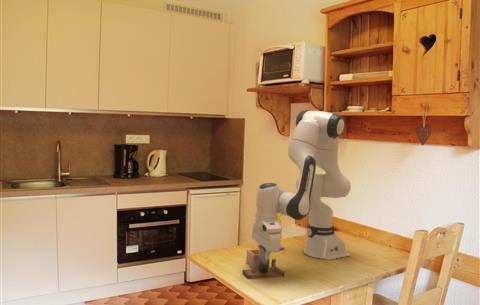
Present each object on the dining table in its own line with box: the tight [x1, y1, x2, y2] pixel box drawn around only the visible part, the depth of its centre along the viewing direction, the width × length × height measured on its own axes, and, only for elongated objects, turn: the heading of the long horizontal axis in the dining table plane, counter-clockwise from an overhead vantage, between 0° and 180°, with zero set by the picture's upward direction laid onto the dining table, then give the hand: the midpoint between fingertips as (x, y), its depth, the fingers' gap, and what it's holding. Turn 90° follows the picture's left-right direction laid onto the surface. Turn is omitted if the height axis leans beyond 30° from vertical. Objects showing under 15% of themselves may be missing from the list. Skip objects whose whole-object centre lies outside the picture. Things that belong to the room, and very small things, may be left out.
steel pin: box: [259, 246, 270, 273], centre depth 164 cm, size 4×4×10 cm
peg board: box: [241, 258, 285, 280], centre depth 164 cm, size 16×6×6 cm, turn 111°
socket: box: [245, 248, 271, 269], centre depth 175 cm, size 8×8×6 cm
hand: (264, 256), depth 164 cm, fingers closed on steel pin, 4 cm apart
